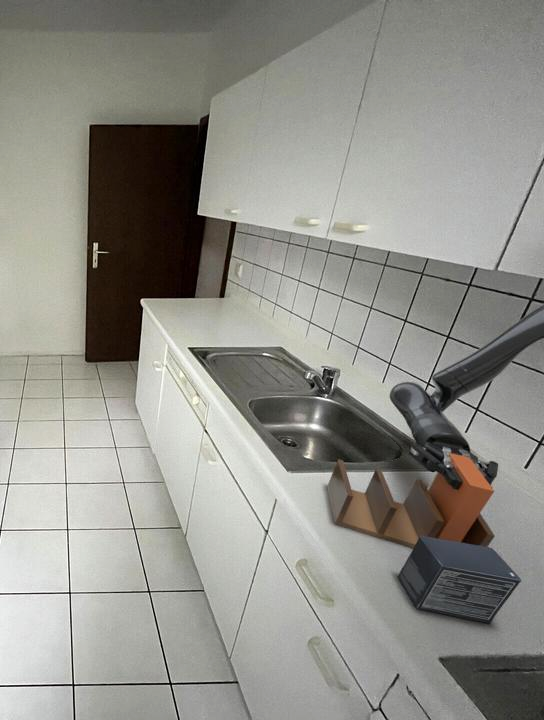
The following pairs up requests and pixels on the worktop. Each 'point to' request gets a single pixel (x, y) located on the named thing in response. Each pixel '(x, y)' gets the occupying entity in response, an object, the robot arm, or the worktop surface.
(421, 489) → the book rack
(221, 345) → the worktop surface
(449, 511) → the book
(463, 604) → the small box
